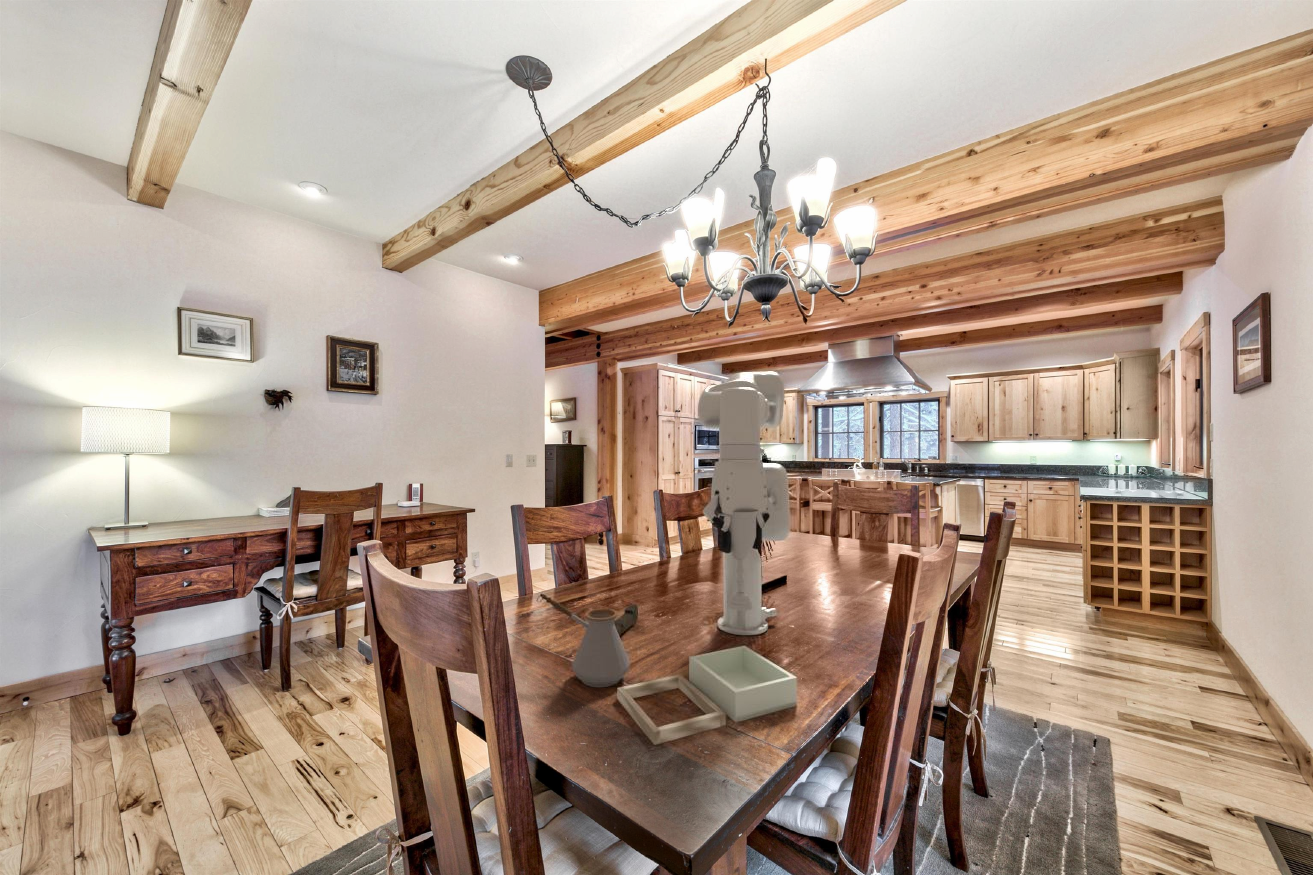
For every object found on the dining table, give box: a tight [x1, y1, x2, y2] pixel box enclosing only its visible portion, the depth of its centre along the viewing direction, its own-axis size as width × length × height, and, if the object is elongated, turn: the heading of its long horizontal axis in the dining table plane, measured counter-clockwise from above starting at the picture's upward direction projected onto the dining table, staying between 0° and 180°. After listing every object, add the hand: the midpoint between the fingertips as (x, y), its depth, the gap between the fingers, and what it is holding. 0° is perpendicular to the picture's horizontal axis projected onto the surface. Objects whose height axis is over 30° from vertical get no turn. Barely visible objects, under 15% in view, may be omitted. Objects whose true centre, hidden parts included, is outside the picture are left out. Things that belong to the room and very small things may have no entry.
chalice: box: [727, 510, 759, 611], centre depth 96 cm, size 7×7×18 cm
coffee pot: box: [536, 593, 631, 688], centre depth 105 cm, size 21×12×15 cm, turn 64°
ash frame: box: [616, 673, 726, 746], centre depth 90 cm, size 13×16×2 cm
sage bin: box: [688, 645, 798, 723], centre depth 96 cm, size 13×16×5 cm
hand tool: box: [614, 604, 639, 636], centre depth 128 cm, size 19×4×5 cm, turn 157°
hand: (740, 549), depth 96 cm, fingers closed on chalice, 6 cm apart
